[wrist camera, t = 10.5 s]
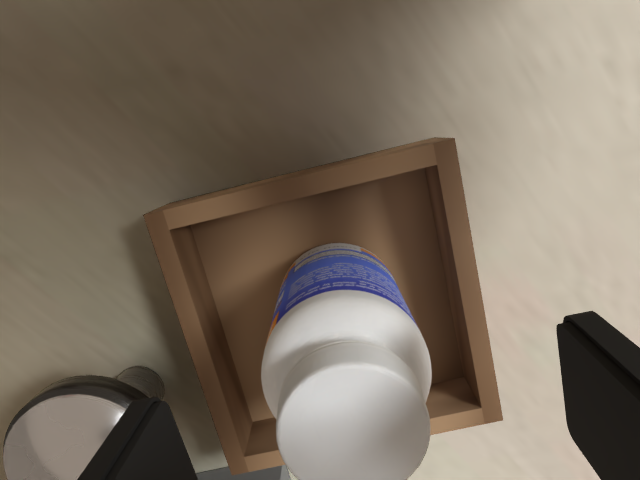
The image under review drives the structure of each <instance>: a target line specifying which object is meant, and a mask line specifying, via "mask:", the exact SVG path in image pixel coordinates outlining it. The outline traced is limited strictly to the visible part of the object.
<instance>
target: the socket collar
mask: <svg viewBox="0 0 640 480" xmlns="http://www.w3.org/2000/svg"><path fill="white" fill-rule="evenodd" d="M196 476H197V478H198V480H291V479H290V476H289V473H288V469H287V466H286V465H281V466H276V467H271V468H266V469H261V470H256V471H252V472H247V473H242V474H237V475H231V472H230V469H229V467H225V468H221V469H216V470H211V471H206V472H201V473H196Z"/></svg>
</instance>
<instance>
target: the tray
mask: <svg viewBox="0 0 640 480" xmlns="http://www.w3.org/2000/svg"><path fill="white" fill-rule="evenodd" d="M143 216H144V219H145V222H146V225H147V228H148V231H149V234H150V237H151V240H152V243H153V246H154V249H155V252H156V255H157V257H158V260H159V263H160V266H161V269H162V272H163V275H164V278H165V281H166V284H167V287H168V290H169V293H170V296H171V299H172V301H173V304H174V307H175V310H176V313H177V316H178V319H179V322H180V325H181V328H182V331H183V334H184V337H185V340H186V343H187V345H188V348H189V351H190V354H191V357H192V360H193V363H194V366H195V369H196V372H197V375H198V378H199V381H200V384H201V387H202V390H203V392H204V395H205V398H206V401H207V404H208V407H209V410H210V413H211V416H212V419H213V422H214V425H215V428H216V431H217V434H218V436H219V439H220V442H221V445H222V448H223V451H224V454H225V457H226V460H227V463H228V466H229V469H230V472H231V475H237V474H242V473H247V472H252V471H256V470H261V469H266V468H271V467H276V466H281V465H286V464H285V463H284V461H283V459H282V457H281V455H280V452H279V449H278V445H277V441H276V418H275V417H274V416H273V414H272V412H271V410H270V408H269V406H268V404H267V402H266V399H265V396H264V392H263V388H262V381H261V368H262V360H263V355H264V350H265V346H266V342H267V338H268V334H269V330H270V326H271V323H272V319H273V315H274V311H275V307H276V303H277V299H278V295H279V291H280V287H281V284H282V282H283V279H284V277H285V275H286V273H287V271H288V270H289V268H290V267H291V265H292V264H293V263H294V262H295V261H296V260H297V259H298V258H299V257H300V256H301V255H303V254H304V253H306V252H307V251H309V250H311V249H313V248H315V247H318V246H321V245H325V244H330V243H345V244H352V245H356V246H359V247H362V248H364V249H366V250H368V251H370V252H372V253H373V254H375V255H376V256H377V257H378V258H379V259H381V260H382V262H383V263H384V264H385V265H386V266H387V268H388V269H389V270H390V272H391V274H392V275H393V277H394V280H395V282H396V284H397V286H398V289H399V291H400V293H401V295H402V297H403V299H404V301H405V303H406V305H407V306H408V308H409V310H410V312H411V315H412V316H413V318H414V320H415V322H416V324H417V326H418V328H419V330H420V332H421V334H422V336H423V339H424V341H425V343H426V346H427V348H428V352H429V355H430V361H431V371H432V379H431V387H430V391H429V395H428V398H427V401H426V406H427V409H428V412H429V417H430V427H431V430H430V435H433V434H438V433H443V432H448V431H453V430H457V429H462V428H467V427H472V426H477V425H482V424H487V423H492V422H497V421H502V420H503V416H502V411H501V405H500V399H499V393H498V387H497V382H496V376H495V370H494V364H493V358H492V353H491V347H490V341H489V335H488V329H487V324H486V318H485V312H484V306H483V300H482V295H481V289H480V283H479V277H478V271H477V266H476V260H475V254H474V248H473V242H472V237H471V231H470V225H469V219H468V213H467V207H466V202H465V196H464V190H463V184H462V178H461V173H460V167H459V161H458V155H457V149H456V144H455V138H436V137H434V138H430V139H426V140H422V141H418V142H414V143H410V144H406V145H402V146H398V147H394V148H390V149H386V150H382V151H378V152H374V153H370V154H366V155H362V156H358V157H354V158H350V159H345V160H341V161H337V162H333V163H329V164H325V165H321V166H317V167H313V168H309V169H305V170H301V171H297V172H293V173H289V174H285V175H281V176H277V177H273V178H269V179H265V180H261V181H257V182H253V183H249V184H244V185H240V186H236V187H232V188H228V189H224V190H220V191H216V192H212V193H208V194H204V195H200V196H196V197H192V198H188V199H184V200H180V201H176V202H172V203H169V204H166V205H164V206H162V207H160V208H158V209H155V210H153V211H151V212H149V213H147V214H144V215H143Z"/></svg>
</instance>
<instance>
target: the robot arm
mask: <svg viewBox="0 0 640 480" xmlns="http://www.w3.org/2000/svg"><path fill="white" fill-rule="evenodd" d="M557 339H558V348H559V357H560V366H561V375H562V384H563V393H564V402H565V411H566V420H567V426H568V429H569V432H570V435H571V437H572V439H573V440H574V442H575V443H576V445H577V446H578V447H579V449H580V450H581V452H582V453H583V455H584V456H585V457H586V459H587V460H588V462H589V463H590V465H591V466H592V467H593V469H594V470H595V472H596V473H597V474H598V476H599V477H600V479H601V480H640V348H639V347H638V346H637V345H635V344H634V343H633V342H632V341H630V340H629V339H628V338H627V337H625V336H624V335H623V334H622V333H620V332H619V331H618V330H617V329H615V328H614V327H613V326H612V325H610V324H609V323H608V322H607V321H605V320H604V319H603V318H602V317H600V316H599V315H598V314H597V313H595V312H593V311H589V312H583V313H578V314H573V315H568V316H565V317H564V320H563V323H562V324H558V325H557ZM77 480H198V478H197V476H196V473H195V471H194V468H193V466H192V463H191V461H190V458H189V455H188V453H187V450H186V448H185V445H184V443H183V440H182V438H181V435H180V433H179V430H178V428H177V425H176V423H175V420H174V418H173V415H172V413H171V410H170V407H169V405H168V403H167V402H165V401H161V400H160V399H159V398H158V397H150V398H145V399H140V400H135V401H132V402H131V403H130V405H129V406H128V408H127V409H126V410H125V412H124V413H123V415H122V416H121V418H120V419H119V420H118V422H117V423H116V425H115V426H114V428H113V429H112V430H111V432H110V433H109V435H108V436H107V438H106V439H105V440H104V442H103V443H102V445H101V446H100V448H99V449H98V451H97V452H96V453H95V455H94V456H93V458H92V459H91V461H90V462H89V463H88V465H87V466H86V468H85V469H84V471H83V472H82V473H81V475H80V476H79V478H78V479H77Z"/></svg>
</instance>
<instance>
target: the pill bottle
mask: <svg viewBox="0 0 640 480" xmlns="http://www.w3.org/2000/svg"><path fill="white" fill-rule="evenodd" d="M431 379H432V371H431V361H430V355H429V352H428V348H427V346H426V343H425V341H424V339H423V336H422V334H421V332H420V330H419V328H418V326H417V324H416V322H415V320H414V318H413V316H412V315H411V312H410V310H409V308H408V306H407V305H406V303H405V301H404V299H403V297H402V295H401V293H400V291H399V289H398V286H397V284H396V282H395V280H394V277H393V275H392V274H391V272H390V270H389V269H388V268H387V266H386V265H385V264H384V263H383V262H382V260H381V259H379V258H378V257H377V256H376V255H375V254H373V253H372V252H370V251H368V250H366V249H364V248H362V247H359V246H356V245H352V244H345V243H330V244H325V245H321V246H318V247H315V248H313V249H311V250H309V251H307V252H306V253H304V254H303V255H301V256H300V257H299V258H298V259H297V260H296V261H295V262H294V263H293V264H292V265H291V267H290V268H289V270H288V271H287V273H286V275H285V277H284V279H283V282H282V284H281V287H280V291H279V295H278V299H277V303H276V307H275V311H274V315H273V319H272V323H271V326H270V330H269V334H268V338H267V342H266V346H265V350H264V355H263V360H262V368H261V381H262V388H263V392H264V396H265V399H266V402H267V404H268V406H269V408H270V410H271V412H272V414H273V416H274V417H275V418H276V441H277V445H278V449H279V452H280V455H281V457H282V459H283V461H284V463H285V464H286V466H287V467H288V469H289V470H290V471H291V473H292V474H293V475H294V476H295V477H296V478H297V479H299V480H406V479H407V478H409V477H410V476H411V475H412V474H413V473H414V471H415V470H416V469H417V468H418V467H419V465H420V464H421V462H422V460H423V458H424V456H425V454H426V451H427V448H428V445H429V441H430V430H431V427H430V417H429V412H428V409H427V406H426V401H427V398H428V395H429V391H430V387H431Z"/></svg>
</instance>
